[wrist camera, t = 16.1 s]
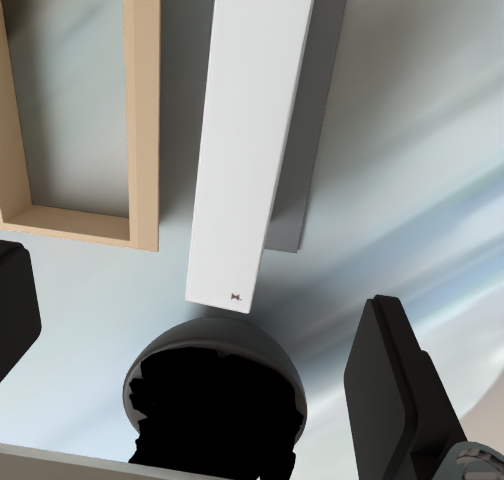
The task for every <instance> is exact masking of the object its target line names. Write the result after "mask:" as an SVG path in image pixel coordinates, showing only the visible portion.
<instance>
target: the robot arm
mask: <svg viewBox="0 0 504 480" xmlns="http://www.w3.org/2000/svg"><path fill="white" fill-rule="evenodd" d="M41 328H42V325H41V319H40V313H39V307H38V301H37V295H36V289H35V283H34V277H33V271H32V265H31V259H30V253H29V251H28V250H27V249H25V248H24V246H23V245H22V244H21V243H19V242H12V241H5V240H0V382H1V381H2V380H3V379H4V378H5V377H6V375H7V374H8V373H9V372H10V371H11V369H12V368H13V367H14V366H15V365H16V363H17V362H18V361H19V360H20V359H21V357H22V356H23V355H24V354H25V353H26V352H27V350H28V349H29V348H30V347H31V346H32V344H33V343H34V342H35V341H36V340H37V338H38V337H39V335H40V332H41ZM344 388H345V394H346V401H347V407H348V413H349V419H350V426H351V432H352V438H353V444H354V451H355V457H356V463H357V469H358V476H359V480H504V456H503V455H502V454H501V453H499V452H497V451H495V450H494V449H492V448H490V447H488V446H486V445H483V444H480V443H477V442H469V441H468V440H467V438H466V436H465V434H464V432H463V429H462V427H461V425H460V423H459V420H458V418H457V416H456V413H455V411H454V409H453V407H452V405H451V402H450V400H449V398H448V396H447V393H446V391H445V389H444V387H443V384H442V382H441V380H440V378H439V375H438V373H437V371H436V369H435V366H434V364H433V362H432V360H431V357H430V356H429V354H428V353H427V352H426V351H423V350H421V349H420V346H419V344H418V342H417V339H416V337H415V335H414V332H413V330H412V328H411V325H410V323H409V321H408V318H407V316H406V314H405V311H404V309H403V306H402V304H401V302H400V300H399V298H397V297H391V296H384V295H375V297H374V299H368V300H367V301H366V304H365V307H364V310H363V313H362V317H361V320H360V323H359V326H358V329H357V333H356V336H355V339H354V342H353V346H352V349H351V352H350V355H349V359H348V362H347V365H346V368H345V372H344ZM0 480H231V479H225V478H219V477H213V476H207V475H200V474H194V473H188V472H182V471H176V470H170V469H163V468H157V467H151V466H144V465H138V464H131V463H125V462H119V461H112V460H106V459H100V458H93V457H87V456H80V455H74V454H67V453H61V452H54V451H48V450H41V449H35V448H29V447H22V446H15V445H9V444H2V443H0Z"/></svg>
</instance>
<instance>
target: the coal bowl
mask: <svg viewBox="0 0 504 480" xmlns="http://www.w3.org/2000/svg"><path fill="white" fill-rule="evenodd" d="M123 404H124V408H125V411H126V414H127V416H128V418H129V420H130V422H131V424H132V425H133V427H134V428H135V429H136V431H137V432H138V433H139V434H140V436H139V438H138V439H136V440H135V443H136V445H137V446H136V448H137V450H136V451H135V454H134V455H133V456H132V458H131V459H129V461H128V463H131V464H138V465H144V466H151V467H157V468H163V469H170V470H176V471H182V472H188V473H194V474H200V475H207V476H213V477H219V478H225V479H231V480H256V479H257V478H258V477H259V476H260V480H289V479H290V476H291V474H292V471H293V468H294V465H295V458H296V454H295V453H293V448H294V445H295V444H296V443H297V441H298V440H299V438H300V437H301V435H302V433H303V431H304V428H305V424H306V421H307V403H306V397H305V392H304V388H303V385H302V382H301V379H300V377H299V374H298V372H297V370H296V368H295V366H294V364H293V363H292V361H291V359H290V358H289V356H288V355H287V354H286V352H285V351H284V350H283V349H282V348H281V346H280V345H279V344H278V343H277V342H276V341H275V340H273V339H272V338H271V337H270V336H269V335H267V334H266V333H265V332H263V331H261V330H260V329H258V328H256V327H254V326H252V325H250V324H248V323H245V322H242V321H239V320H235V319H231V318H224V317H208V318H200V319H194V320H191V321H187V322H185V323H182V324H179V325H177V326H175V327H173V328H171V329H169V330H168V331H166V332H164V333H163V334H161V335H160V336H159V337H157V338H156V339H155V340H154V341H152V342H151V343H150V344H149V345H148V346H147V347H146V348H145V349H144V350H143V351H142V352H141V354H140V355H139V356H138V357H137V359H136V360H135V361H134V363H133V364H132V366H131V368H130V369H129V371H128V373H127V375H126V378H125V381H124V385H123Z"/></svg>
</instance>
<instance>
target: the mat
mask: <svg viewBox="0 0 504 480" xmlns="http://www.w3.org/2000/svg"><path fill="white" fill-rule="evenodd" d="M345 2H346V0H314V4H313V9H312V15H311V20H310V25H309V30H308V35H307V40H306V45H305V51H304V56H303V61H302V66H301V71H300V76H299V81H298V87H297V92H296V97H295V102H294V107H293V112H292V117H291V122H290V127H289V132H288V137H287V142H286V147H285V152H284V157H283V162H282V167H281V172H280V177H279V182H278V186H277V191H276V196H275V200H274V205H273V210H272V214H271V219H270V223H269V228H268V232H267V236H266V241H265V245H264V249H271V250H278V251H285V252H292V253H297V249H298V244H299V238H300V233H301V228H302V223H303V218H304V213H305V208H306V203H307V197H308V192H309V187H310V182H311V177H312V172H313V167H314V161H315V156H316V151H317V146H318V141H319V136H320V131H321V126H322V120H323V115H324V110H325V105H326V100H327V95H328V90H329V85H330V79H331V74H332V69H333V64H334V59H335V54H336V49H337V43H338V38H339V33H340V28H341V23H342V18H343V13H344V8H345ZM214 4H215V0H212V16H211V32H210V45H211V35H212V25H213V14H214ZM209 55H210V49H209Z"/></svg>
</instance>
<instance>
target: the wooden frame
mask: <svg viewBox="0 0 504 480" xmlns="http://www.w3.org/2000/svg"><path fill="white" fill-rule="evenodd" d="M123 17H124V52H125V86H126V120H127V154H128V188H129V218H123V217H116V216H109V215H103V214H96V213H89V212H82V211H75V210H68V209H61V208H54V207H47V206H40V205H33V204H32V200H31V193H30V187H29V180H28V174H27V167H26V160H25V154H24V147H23V141H22V134H21V128H20V121H19V114H18V108H17V101H16V95H15V88H14V81H13V75H12V68H11V62H10V55H9V48H8V42H7V35H6V29H5V22H4V15H3V9H2V2H1V0H0V229H2V230H9V231H16V232H23V233H30V234H37V235H43V236H50V237H57V238H64V239H71V240H78V241H84V242H91V243H98V244H105V245H112V246H119V247H125V248H132V249H139V250H146V251H153V252H158V251H159V169H160V57H161V0H123Z"/></svg>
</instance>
